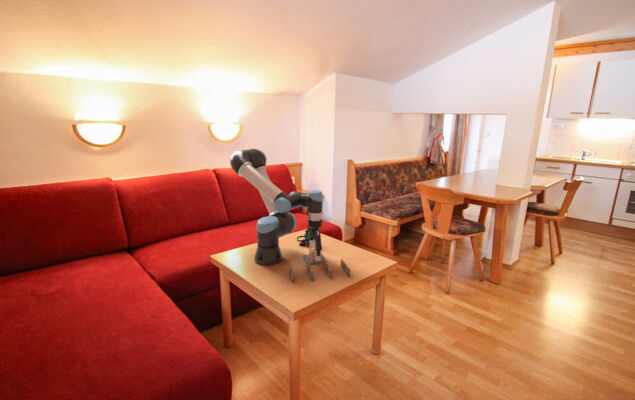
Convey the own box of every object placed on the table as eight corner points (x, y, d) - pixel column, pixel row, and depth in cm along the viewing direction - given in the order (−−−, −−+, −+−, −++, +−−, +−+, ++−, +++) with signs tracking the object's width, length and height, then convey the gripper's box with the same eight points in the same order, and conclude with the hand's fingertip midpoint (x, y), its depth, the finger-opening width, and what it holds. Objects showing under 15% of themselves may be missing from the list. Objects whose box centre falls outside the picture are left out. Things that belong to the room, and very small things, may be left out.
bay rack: (288, 271, 163) (288, 264, 162) (342, 266, 170) (342, 259, 169) (292, 282, 152) (292, 275, 151) (349, 276, 159) (350, 269, 158)
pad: (303, 256, 181) (303, 255, 181) (321, 255, 184) (321, 253, 184) (307, 265, 171) (307, 263, 171) (326, 263, 173) (327, 261, 173)
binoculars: (297, 226, 203) (312, 226, 200) (299, 242, 205) (314, 242, 203) (293, 231, 194) (309, 230, 192) (295, 247, 196) (311, 247, 194)
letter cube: (309, 256, 179) (309, 247, 178) (318, 255, 180) (318, 246, 179) (311, 260, 174) (311, 251, 172) (321, 259, 175) (321, 250, 174)
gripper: (328, 225, 161) (327, 264, 166) (316, 212, 184) (316, 246, 189) (313, 226, 159) (313, 266, 164) (303, 213, 182) (303, 247, 188)
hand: (314, 255), depth 177 cm, fingers open, 13 cm apart
